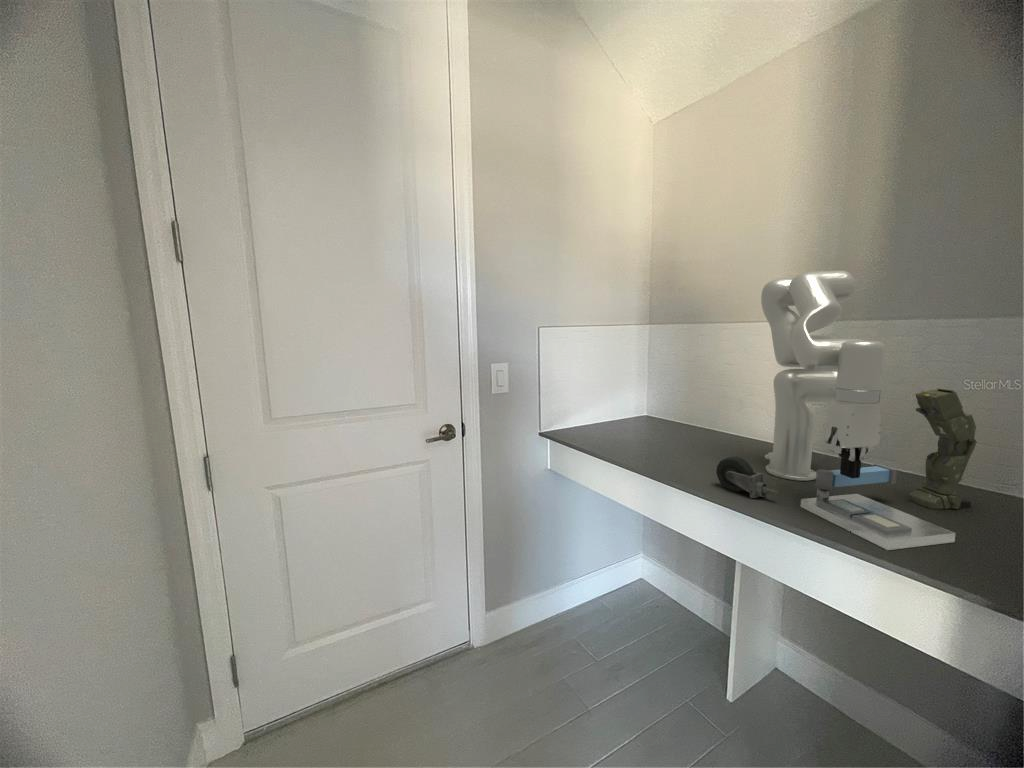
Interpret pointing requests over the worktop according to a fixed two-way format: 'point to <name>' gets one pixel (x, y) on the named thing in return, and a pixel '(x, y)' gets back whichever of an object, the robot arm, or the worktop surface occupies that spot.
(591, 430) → the worktop surface
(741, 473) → the caster wheel
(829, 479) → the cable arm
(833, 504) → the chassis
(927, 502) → the mechanical leg
